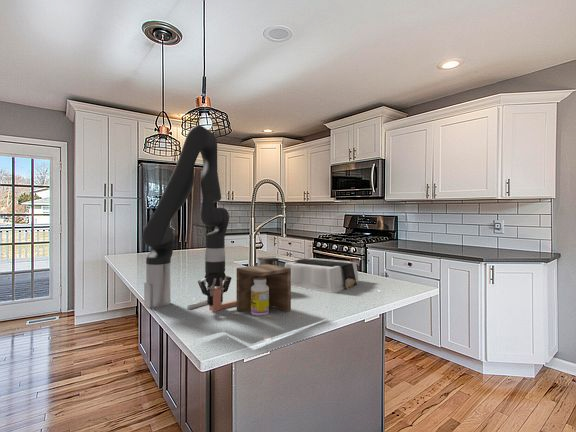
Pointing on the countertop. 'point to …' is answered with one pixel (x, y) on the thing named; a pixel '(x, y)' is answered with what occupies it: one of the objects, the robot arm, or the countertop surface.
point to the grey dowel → (197, 304)
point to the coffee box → (268, 261)
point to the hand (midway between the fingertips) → (215, 304)
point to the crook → (217, 301)
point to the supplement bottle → (259, 297)
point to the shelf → (275, 280)
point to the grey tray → (323, 274)
